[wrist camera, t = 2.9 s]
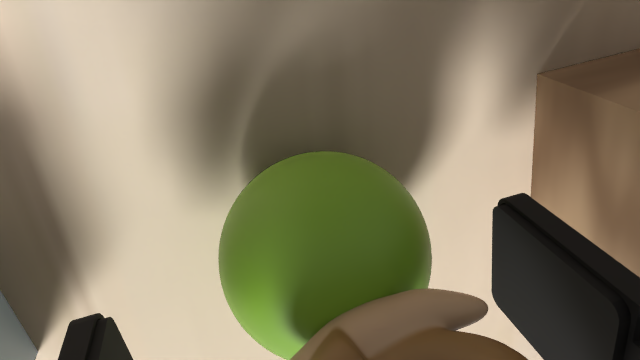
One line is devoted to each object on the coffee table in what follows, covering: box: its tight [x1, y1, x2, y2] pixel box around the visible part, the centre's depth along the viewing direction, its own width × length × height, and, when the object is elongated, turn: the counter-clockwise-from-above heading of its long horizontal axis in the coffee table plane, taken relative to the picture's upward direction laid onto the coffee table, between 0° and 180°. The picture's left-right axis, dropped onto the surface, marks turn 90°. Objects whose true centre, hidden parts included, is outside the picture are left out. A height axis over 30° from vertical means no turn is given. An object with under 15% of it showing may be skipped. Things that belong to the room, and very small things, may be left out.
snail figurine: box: [219, 151, 528, 360], centre depth 10 cm, size 5×6×12 cm
